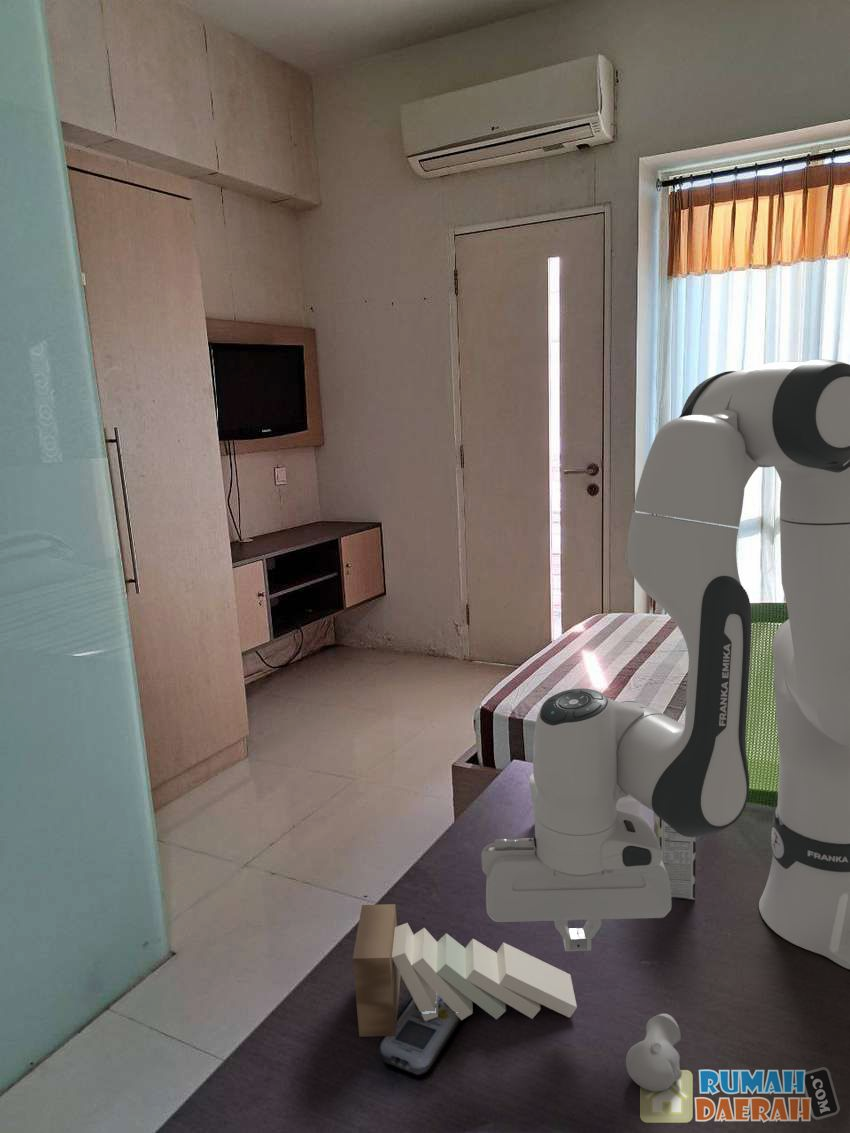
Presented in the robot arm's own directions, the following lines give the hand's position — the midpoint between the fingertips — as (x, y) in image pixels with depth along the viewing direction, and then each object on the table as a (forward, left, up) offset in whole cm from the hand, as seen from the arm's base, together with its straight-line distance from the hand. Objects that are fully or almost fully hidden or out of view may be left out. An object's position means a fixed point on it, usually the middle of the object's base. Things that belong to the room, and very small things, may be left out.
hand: (577, 947), depth 88 cm
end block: (+23, 0, -7) cm, 24 cm away
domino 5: (+1, 0, -6) cm, 6 cm away
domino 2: (+13, 0, -7) cm, 14 cm away
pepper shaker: (-13, -35, -7) cm, 38 cm away
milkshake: (0, -37, -7) cm, 38 cm away
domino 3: (+9, 0, -6) cm, 11 cm away
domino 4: (+5, 0, -6) cm, 8 cm away
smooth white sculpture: (-7, +9, -8) cm, 14 cm away
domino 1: (+17, 0, -7) cm, 18 cm away
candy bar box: (-17, -23, -7) cm, 30 cm away
